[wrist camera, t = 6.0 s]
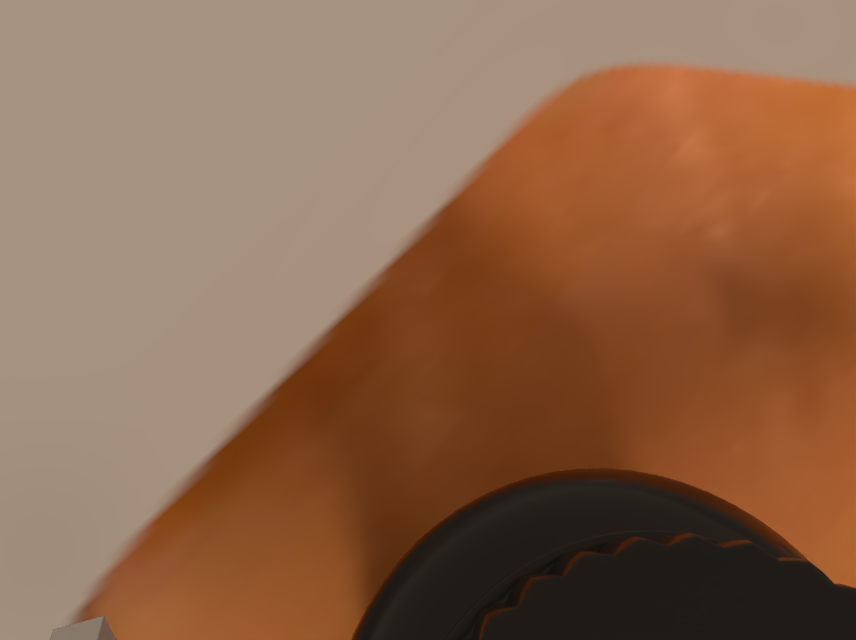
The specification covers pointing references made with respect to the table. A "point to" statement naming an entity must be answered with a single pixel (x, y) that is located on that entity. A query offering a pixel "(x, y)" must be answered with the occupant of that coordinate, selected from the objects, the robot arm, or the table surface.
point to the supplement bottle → (605, 569)
